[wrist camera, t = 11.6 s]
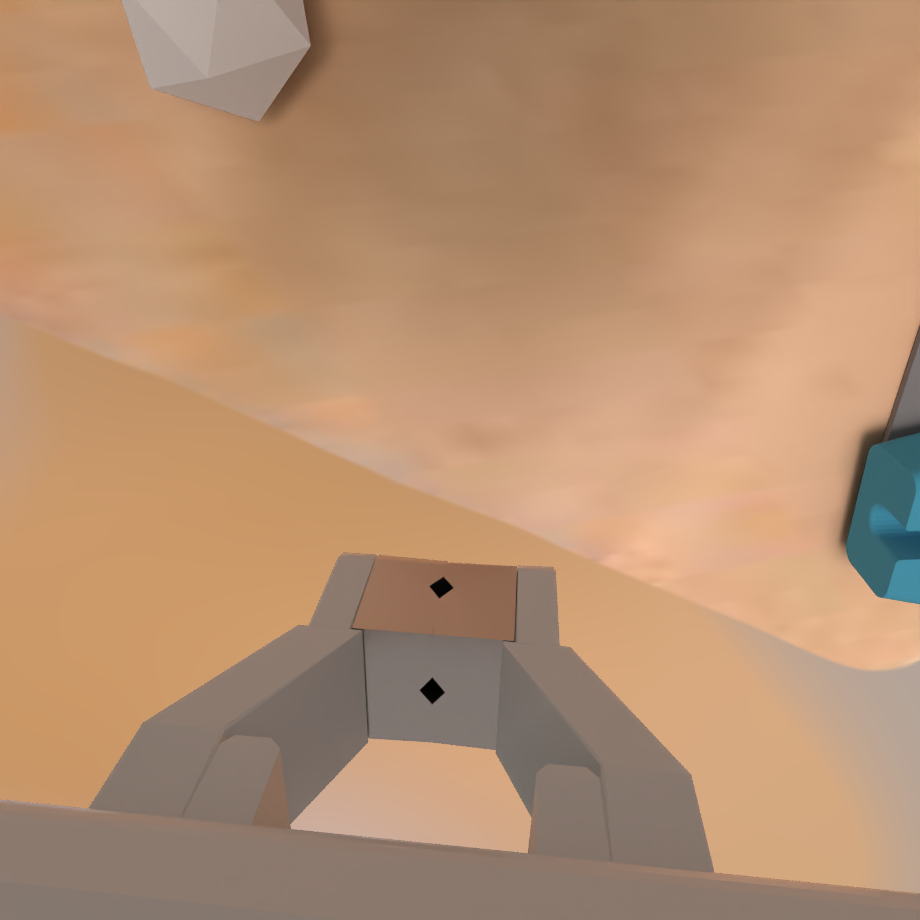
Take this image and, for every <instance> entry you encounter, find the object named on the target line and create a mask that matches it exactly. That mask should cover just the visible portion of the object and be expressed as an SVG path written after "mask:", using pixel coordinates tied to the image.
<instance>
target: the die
mask: <svg viewBox="0 0 920 920" xmlns="http://www.w3.org/2000/svg"><path fill="white" fill-rule="evenodd" d="M122 3H123V7H124V10H125V13H126V16H127V19H128V22H129V25H130V28H131V31H132V34H133V37H134V40H135V43H136V46H137V49H138V52H139V55H140V58H141V61H142V65H143V68H144V71H145V74H146V77H147V80H148V83H149V86H150V89H153V90H157V91H160V92H163V93H166V94H170V95H173V96H176V97H179V98H183V99H186V100H189V101H192V102H196V103H199V104H202V105H205V106H209V107H212V108H215V109H219V110H222V111H225V112H228V113H232V114H235V115H238V116H241V117H245V118H248V119H251V120H254V121H258V122H259V121H260V120H261V118H262V117H263V115H264V114H265V112H266V111H267V109H268V108H269V106H270V105H271V104H272V102H273V101H274V99H275V98H276V96H277V95H278V93H279V92H280V90H281V89H282V87H283V86H284V84H285V83H286V82H287V80H288V79H289V77H290V76H291V74H292V73H293V71H294V70H295V68H296V67H297V65H298V64H299V62H300V61H301V60H302V58H303V57H304V55H305V54H306V52H307V51H308V49H309V48H310V46H311V44H310V38H309V32H308V27H307V21H306V15H305V9H304V4H303V0H122Z"/></svg>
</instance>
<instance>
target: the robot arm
mask: <svg viewBox="0 0 920 920" xmlns="http://www.w3.org/2000/svg"><path fill="white" fill-rule="evenodd" d="M368 738H372V739H388V740H403V741H419V742H433V743H442V744H450V745H458V746H467V747H476V748H483V749H492V750H496V754H497V756H498V758H499V760H500V762H501V763H502V765H503V767H504V769H505V771H506V772H507V774H508V776H509V778H510V780H511V781H512V783H513V785H514V787H515V789H516V790H517V792H518V794H519V796H520V798H521V799H522V801H523V803H524V805H525V806H526V808H527V810H528V812H529V814H530V815H531V817H532V820H531V829H530V838H529V848H528V853H519V852H509V851H499V850H489V849H480V848H469V847H460V846H450V845H441V844H431V843H420V842H411V841H401V840H391V839H382V838H372V837H362V836H352V835H342V834H333V833H323V832H313V831H303V830H293V829H291V826H290V824H291V823H292V822H293V820H295V819H296V818H297V817H298V815H299V814H300V813H301V812H302V811H303V810H304V809H305V808H306V807H307V806H308V805H309V804H310V803H311V802H312V801H313V800H314V799H315V798H316V796H317V795H318V794H319V793H320V792H321V791H322V790H323V789H324V788H325V787H326V786H327V785H328V784H329V782H331V781H332V780H333V779H334V778H335V776H336V775H337V774H338V773H339V772H340V771H341V770H342V769H343V768H344V767H345V766H346V765H347V764H348V763H349V762H350V761H351V760H352V759H353V757H354V756H355V755H356V754H357V753H358V752H359V751H360V750H361V749H362V748H363V747H364V746H365V745H366V744H367V743H368ZM0 920H920V894H919V893H909V892H898V891H889V890H880V889H870V888H859V887H850V886H840V885H829V884H820V883H810V882H800V881H790V880H781V879H771V878H760V877H751V876H741V875H731V874H722V873H714V869H713V865H712V860H711V856H710V852H709V848H708V844H707V840H706V835H705V831H704V827H703V823H702V818H701V814H700V810H699V806H698V801H697V797H696V793H695V789H694V785H693V780H692V777H691V774H690V773H689V772H688V771H687V770H686V769H685V768H684V767H683V766H682V765H681V763H680V762H678V760H676V758H675V757H674V756H673V755H672V754H671V753H670V752H669V751H668V750H667V749H666V748H665V747H664V746H663V744H661V742H660V741H659V740H658V739H657V738H656V737H655V736H654V735H653V734H652V733H651V732H650V731H649V730H648V729H647V727H646V726H645V725H644V724H643V723H642V722H641V721H640V720H639V719H638V718H637V717H636V716H635V715H634V714H633V713H632V712H631V711H630V710H629V709H628V707H627V706H626V705H625V704H624V703H623V702H622V701H621V700H620V699H619V698H618V697H617V696H616V695H615V694H614V693H613V691H612V690H611V689H610V688H609V687H608V686H607V685H606V684H605V683H604V682H603V681H602V680H601V679H600V678H599V677H598V676H597V675H596V674H595V672H594V671H593V670H592V669H591V668H590V667H589V666H588V665H587V664H586V663H585V662H584V661H583V660H582V659H581V658H580V657H579V656H578V654H577V653H576V652H575V651H574V650H573V649H572V648H571V647H565V646H560V644H559V625H558V606H557V588H556V571H555V569H554V568H553V567H542V566H518V569H517V566H502V565H486V564H470V563H453V562H447V561H438V560H427V559H417V558H407V557H406V558H405V557H396V556H385V555H379V556H377V555H374V554H360V553H347V552H344V553H343V554H341V555H340V556H339V557H338V559H337V561H336V563H335V566H334V569H333V570H332V573H331V575H330V577H329V580H328V582H327V584H326V587H325V589H324V591H323V594H322V596H321V598H320V600H319V603H318V605H317V607H316V610H315V612H314V614H313V617H312V619H311V621H310V624H309V626H304V625H297V626H296V627H294V628H293V629H291V630H289V631H288V632H286V633H285V634H283V635H282V636H280V637H279V638H277V639H275V640H274V641H272V642H270V643H269V644H267V645H266V646H264V647H262V648H261V649H259V650H258V651H256V652H255V653H253V654H251V655H250V656H248V657H247V658H245V659H243V660H242V661H240V662H239V663H237V664H236V665H234V666H233V667H231V668H230V669H228V670H226V671H224V672H223V673H221V674H220V675H218V676H217V677H215V678H213V679H212V680H210V681H209V682H207V683H205V684H204V685H202V686H201V687H199V688H198V689H196V690H194V691H193V692H191V693H189V694H188V695H186V696H185V697H183V698H182V699H180V700H178V701H177V702H175V703H174V704H172V705H170V706H169V707H167V708H166V709H164V710H163V711H161V712H159V713H158V714H156V715H155V716H153V717H151V718H150V719H148V720H147V721H145V722H143V724H142V725H141V727H140V728H139V730H138V731H137V733H136V735H135V736H134V738H133V739H132V741H131V743H130V744H129V746H128V747H127V749H126V750H125V752H124V753H123V755H122V757H121V758H120V760H119V761H118V763H117V764H116V766H115V768H114V769H113V771H112V772H111V774H110V775H109V777H108V779H107V780H106V782H105V783H104V785H103V786H102V788H101V790H100V791H99V793H98V794H97V796H96V797H95V799H94V801H93V802H92V804H91V805H90V807H89V808H77V807H68V806H58V805H48V804H38V803H29V802H19V801H9V800H0Z"/></svg>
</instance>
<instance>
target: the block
mask: <svg viewBox="0 0 920 920" xmlns="http://www.w3.org/2000/svg"><path fill="white" fill-rule="evenodd" d="M846 551H847V556H848V559H849V561H850V562H851V564H852V565H853V566H854V568H855V569H856V570H857V572H858V573H859V574H860V575H861V577H862V578H863V579H864V580H865V582H866V583H867V584H868V585H869V587H870V588H871V589H872V591H873V592H874V593H875V594H876V595H877V596H878V597H881V598H887V599H892V600H898V601H904V602H910V603H916V604H920V433H916V434H912V435H908V436H905V437H901V438H897V439H894V440H890V441H886V442H882V443H879V444H875V445H873V446H872V447H871V448H870V450H869V453H868V457H867V461H866V465H865V469H864V473H863V477H862V481H861V486H860V490H859V494H858V498H857V502H856V506H855V510H854V514H853V518H852V522H851V526H850V530H849V535H848V539H847V544H846Z"/></svg>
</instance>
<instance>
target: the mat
mask: <svg viewBox="0 0 920 920" xmlns="http://www.w3.org/2000/svg"><path fill="white" fill-rule="evenodd" d="M916 433H920V327H919V330H918V334H917V337H916V340H915V343H914V346H913V349H912V352H911V355H910V358H909V361H908V364H907V367H906V370H905V373H904V376H903V379H902V383H901V386H900V389H899V392H898V395H897V398H896V401H895V404H894V407H893V410H892V413H891V416H890V419H889V422H888V425H887V428H886V431H885V435H884V438H883V441H882V442H886V441H890V440H894V439H897V438H901V437H905V436H908V435H912V434H916Z"/></svg>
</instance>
